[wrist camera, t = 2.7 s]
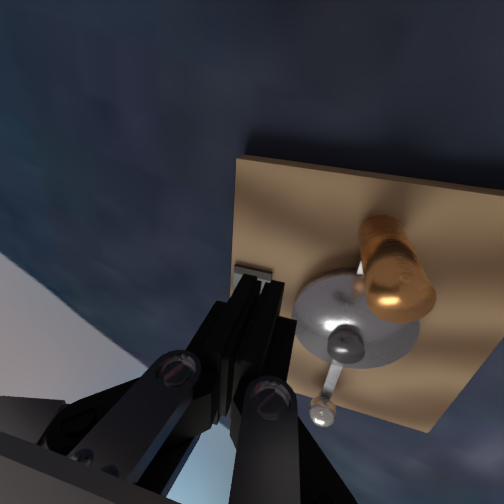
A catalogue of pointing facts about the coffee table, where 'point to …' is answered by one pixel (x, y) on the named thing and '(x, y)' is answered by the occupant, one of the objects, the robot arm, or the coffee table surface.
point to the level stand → (347, 255)
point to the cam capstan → (364, 309)
